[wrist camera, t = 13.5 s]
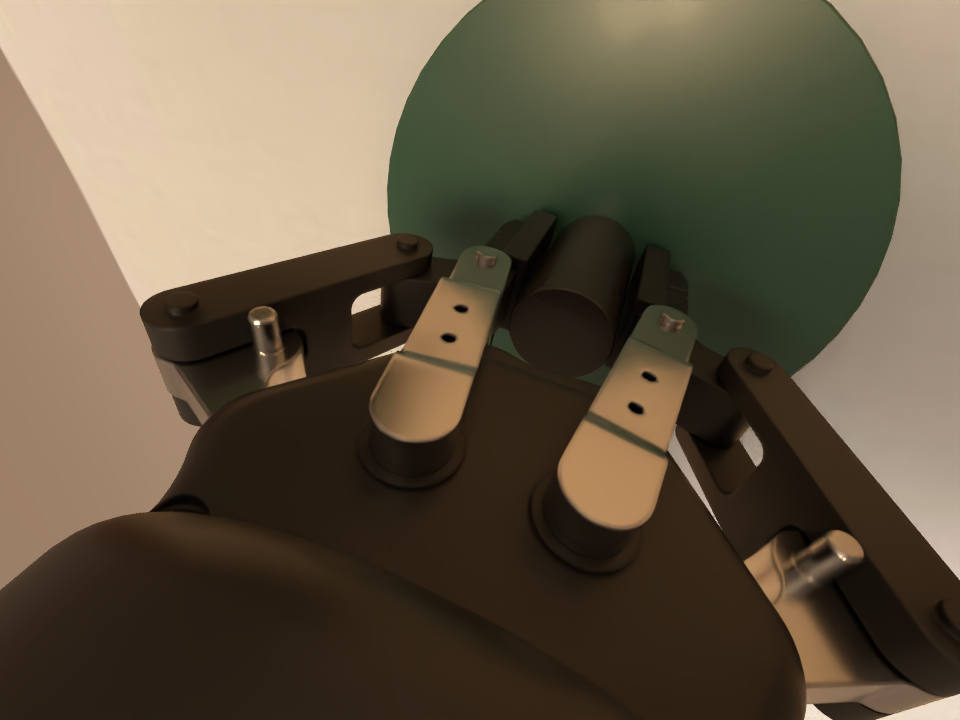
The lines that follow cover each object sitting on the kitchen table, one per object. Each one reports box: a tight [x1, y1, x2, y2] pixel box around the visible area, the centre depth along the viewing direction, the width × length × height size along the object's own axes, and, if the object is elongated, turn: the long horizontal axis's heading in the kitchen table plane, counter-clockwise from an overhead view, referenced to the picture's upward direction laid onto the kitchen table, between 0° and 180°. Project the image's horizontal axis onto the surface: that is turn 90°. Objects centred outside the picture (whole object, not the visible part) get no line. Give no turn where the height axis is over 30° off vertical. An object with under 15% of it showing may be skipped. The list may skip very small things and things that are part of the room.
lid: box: [387, 0, 902, 386], centre depth 13 cm, size 15×15×6 cm
